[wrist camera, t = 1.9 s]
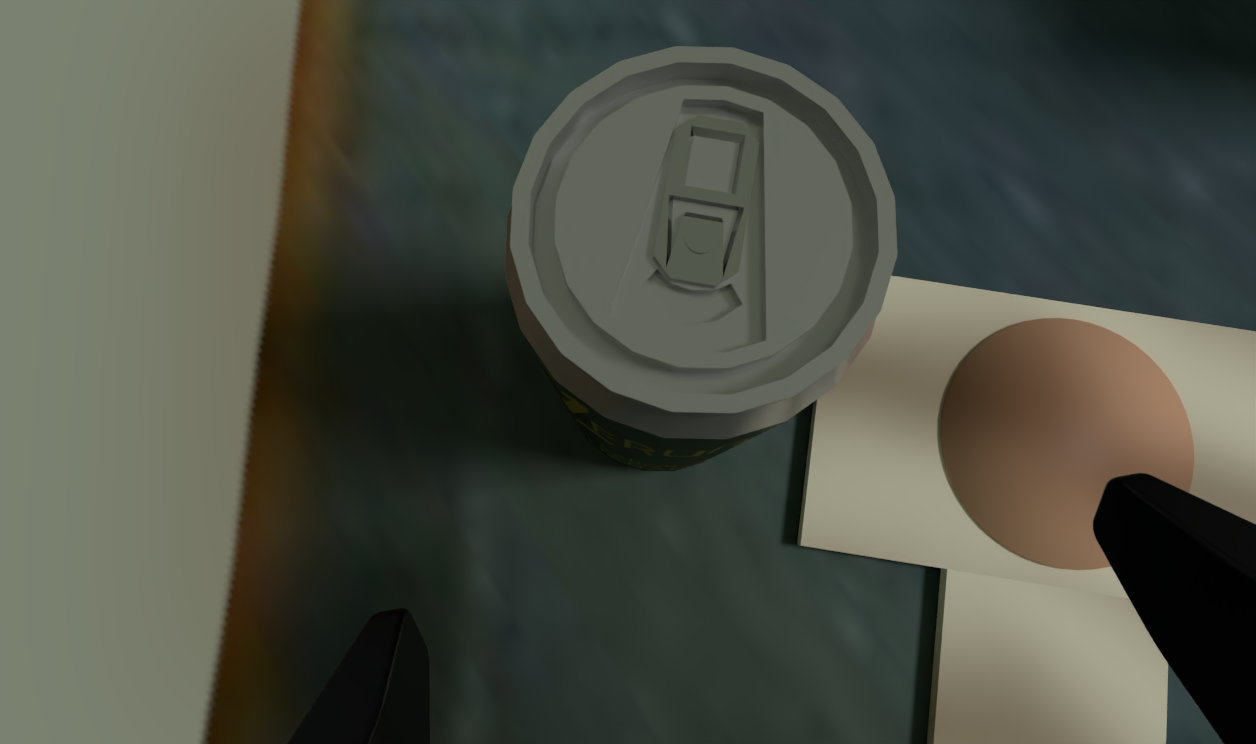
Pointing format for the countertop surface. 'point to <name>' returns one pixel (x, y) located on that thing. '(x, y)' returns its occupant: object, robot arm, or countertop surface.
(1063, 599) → the t plate
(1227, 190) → the countertop surface
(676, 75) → the beer can
